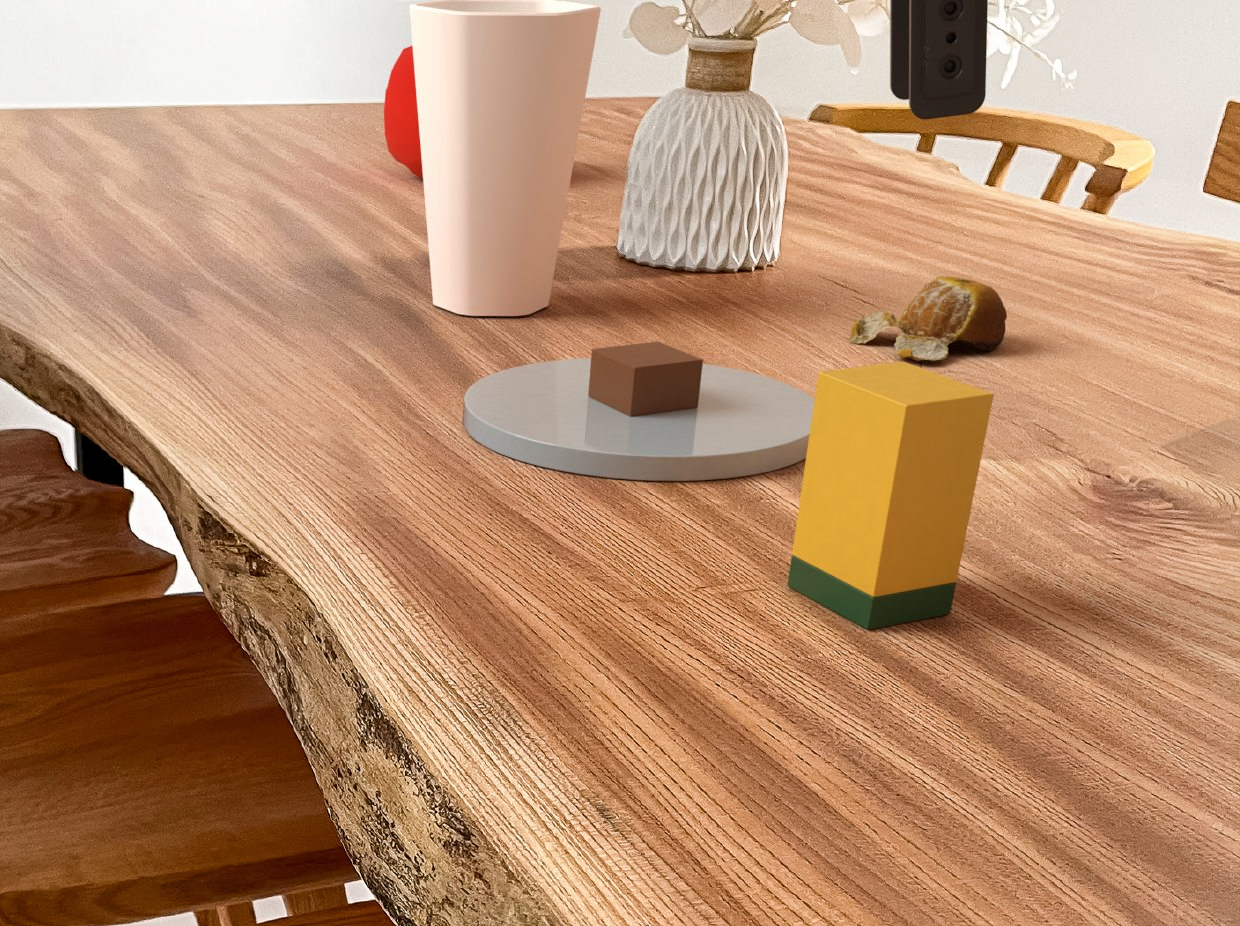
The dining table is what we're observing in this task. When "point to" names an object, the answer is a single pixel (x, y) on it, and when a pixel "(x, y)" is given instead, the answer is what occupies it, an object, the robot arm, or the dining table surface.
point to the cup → (498, 143)
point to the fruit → (941, 319)
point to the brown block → (645, 378)
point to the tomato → (403, 114)
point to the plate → (639, 425)
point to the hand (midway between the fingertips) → (934, 105)
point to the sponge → (887, 492)
